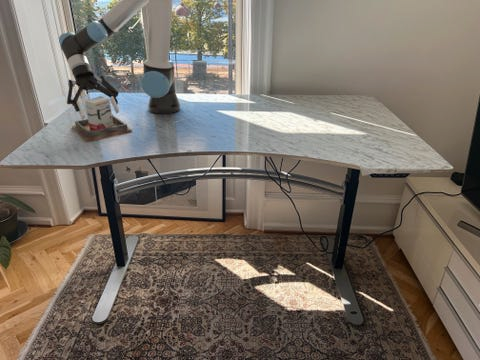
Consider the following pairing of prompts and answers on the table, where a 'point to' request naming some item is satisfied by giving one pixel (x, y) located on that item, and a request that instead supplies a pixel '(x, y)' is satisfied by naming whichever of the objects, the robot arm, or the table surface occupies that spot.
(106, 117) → the ink box
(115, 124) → the tray
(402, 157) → the table surface
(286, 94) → the table surface
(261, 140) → the table surface
